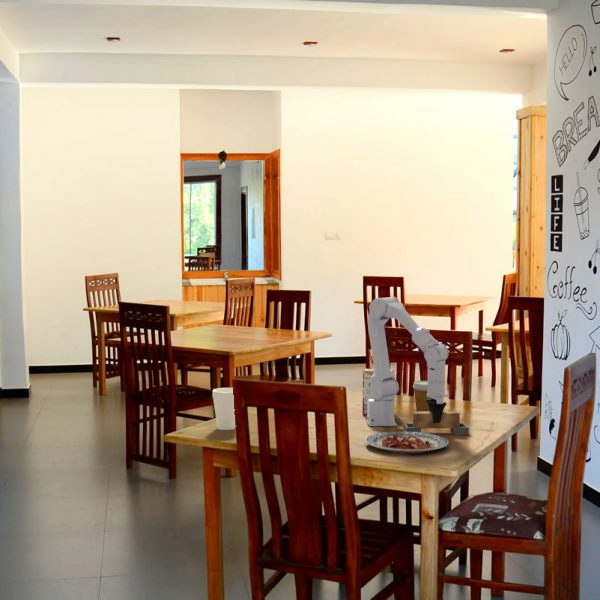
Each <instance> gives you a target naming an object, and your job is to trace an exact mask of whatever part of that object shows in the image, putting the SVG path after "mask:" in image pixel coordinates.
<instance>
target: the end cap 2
mask: <svg viewBox="0 0 600 600" xmlns="http://www.w3.org/2000/svg"><path fill="white" fill-rule="evenodd" d="M469 428H470V427H469V426H468V425H467V424H466V423H465V422H460V427H454V428H449V431H450V432H453V435H454V436H469V435H470V434H469V433H470V431H469V430H470V429H469Z"/></svg>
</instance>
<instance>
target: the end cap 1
mask: <svg viewBox="0 0 600 600" xmlns="http://www.w3.org/2000/svg"><path fill="white" fill-rule="evenodd" d="M402 427H403V428H402V430H403V431H408V432H422V429H421V427H413V422H409V423H408V422H404V423H402Z"/></svg>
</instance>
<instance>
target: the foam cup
mask: <svg viewBox="0 0 600 600" xmlns="http://www.w3.org/2000/svg"><path fill="white" fill-rule="evenodd" d="M233 388H234V387H220V388H219V387H218V388H213V390H212V400H213V406H214V412H215V413H214V414H215V421H216V422H215V423H216V427H217V429H218V430H219V431H231V430H232V431H233V430H236V429H235V415H234V411H235V409H234V395H233Z"/></svg>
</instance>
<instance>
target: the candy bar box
mask: <svg viewBox="0 0 600 600" xmlns="http://www.w3.org/2000/svg"><path fill="white" fill-rule="evenodd" d="M390 370H391V371H392V372H393V373H394V374H395V370H394V369H390ZM362 371H363V373H362V374H363V375H362V412H361V413H362V415H363V416H367V403H368V399H373V397H372V396H371V394H370V385H371V380H370V378H371V377H372V375H373V374H374V368H364V370H362ZM383 380H384V379H383ZM364 414H365V415H364Z"/></svg>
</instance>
